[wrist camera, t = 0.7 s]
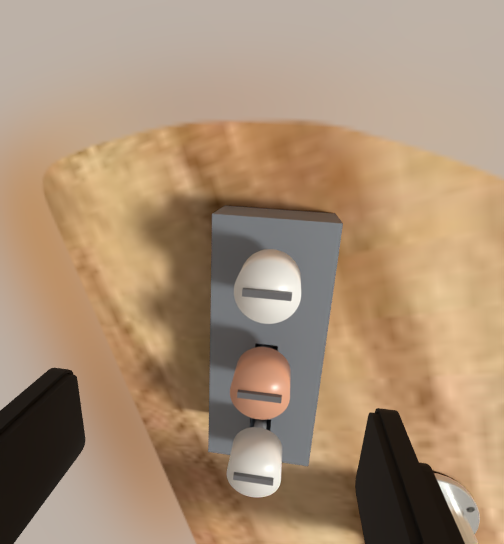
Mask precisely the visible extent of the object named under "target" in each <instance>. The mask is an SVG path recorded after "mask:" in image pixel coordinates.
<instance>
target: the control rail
mask: <svg viewBox="0 0 504 544" xmlns="http://www.w3.org/2000/svg"><path fill="white" fill-rule="evenodd" d="M342 226H343V223H342V222H341V220H340V219H339V218H338V216H337V215H336V214H335V213H322V212H308V211H294V210H280V209H266V208H252V207H238V206H223V207H222V208H220V209H219V210H217V211H216V212H214V213H213V214H212V257H211V320H210V384H209V448H208V452H213V453H220V454H227V455H230V454H231V450H232V445H233V441H234V438H235V436H236V435H237V434H238V433H239V432H240V431H242V430H243V429H246V428H250V427H254V422H255V419H254V418H250V417H248V416H246V415H244V414H242V413H241V412H240V411H239V410H238V409H237V408H236V407H235V406H234V404H233V403H232V400H231V397H230V387H231V384H232V380H233V376H234V373H235V369H236V366H237V362H238V360H239V358H240V357H241V355H242V354H243V353H244V352H246V351H247V350H249V349H252V348H255V347H261V346H262V345H263V344H266V345H271V346H272V348H273V349H274V350H276V351H278V352H280V353H281V354H282V355H283V356H284V357H285V358H286V359H287V361H288V363H289V365H290V371H291V372H290V401H289V404H288V406H287V408H286V409H285V411H284V412H283V413H281V414H280V415H278V416H277V417H274V418H271V419H267V426H266V429H267V430H269V431H271V432H272V433H274V434H275V435H276V436H277V437H278V438H279V440H280V442H281V444H282V463H289V464H296V465H303V466H308V464H309V457H310V450H311V443H312V436H313V429H314V422H315V415H316V408H317V401H318V394H319V387H320V380H321V373H322V366H323V359H324V352H325V345H326V338H327V331H328V324H329V317H330V310H331V303H332V296H333V289H334V282H335V275H336V268H337V261H338V254H339V247H340V240H341V233H342ZM265 249H274V250H279V251H282V252H284V253H286V254H288V255H289V256H290V257H291V258H292V259H293V260H294V261H295V262H296V264H297V266H298V268H299V271H300V277H301V300H300V303H299V306H298V308H297V309H296V311H295V312H294V313H293V314H292V315H291V316H290V317H289V318H287V319H286V320H284V321H282V322H278V323H274V324H264V323H259V322H256V321H253V320H251V319H250V318H248V317H247V316H245V315H244V314H243V313H242V312H241V310H240V309H239V307H238V306H237V304H236V301H235V298H234V285H235V282H236V279H237V277H238V275H239V273H240V271H241V269H242V267H243V265H244V263H245V262H246V260H247V259H248V258H249V257H250V256H251V255H253V254H254V253H256V252H258V251H261V250H265Z"/></svg>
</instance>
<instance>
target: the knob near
mask: <svg viewBox="0 0 504 544" xmlns="http://www.w3.org/2000/svg"><path fill="white" fill-rule="evenodd" d="M234 298H235V301H236V304H237V306H238V307H239V309H240V310H241V312H242V313H243V314H244V315H245V316H247V317H248V318H250V319H251V320H253V321H256V322H259V323H264V324H274V323H278V322H282V321H284V320H286V319H287V318H289V317H290V316H291V315H292V314H293V313H294V312H295V311H296V309H297V308H298V306H299V303H300V300H301V277H300V271H299V268H298V266H297V264H296V262H295V261H294V260H293V259H292V258H291V257H290V256H289V255H288V254H286V253H284V252H282V251H279V250H274V249H265V250H261V251H258V252H256V253H254V254H253V255H251V256H250V257H249V258H248V259H247V260H246V262H245V263H244V265H243V267H242V269H241V271H240V273H239V275H238V277H237V279H236V282H235V285H234Z"/></svg>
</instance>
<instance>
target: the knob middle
mask: <svg viewBox="0 0 504 544" xmlns="http://www.w3.org/2000/svg"><path fill="white" fill-rule="evenodd" d="M290 372H291V371H290V365H289V363H288V361H287V359H286V358H285V357H284V356H283V355H282V354H281V353H280V352H278V351H276V350H274V349H273V348H272V346H271V345H266V344H263V345H262V346H261V347H255V348H252V349H249V350H247V351H246V352H244V353H243V354H242V355H241V357H240V358H239V360H238V362H237V366H236V369H235V373H234V376H233V380H232V384H231V387H230V397H231V400H232V403H233V404H234V406H235V407H236V408H237V409H238V410H239V411H240V412H241V413H242V414H244V415H246V416H248V417H250V418H254V419H261V420H265V419H271V418H274V417H277V416H278V415H280V414H281V413H283V412H284V411H285V409H286V408H287V406H288V404H289V401H290Z"/></svg>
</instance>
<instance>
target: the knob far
mask: <svg viewBox="0 0 504 544" xmlns="http://www.w3.org/2000/svg"><path fill="white" fill-rule="evenodd" d="M266 426H267V419H265V420H261V419H255V422H254V427H250V428H246V429H243V430H242V431H240V432H239V433H238V434H237V435H236V436H235V438H234V441H233V445H232V450H231V454H230V459H229V463H228V468H227V479H228V481H229V483H230V485H231V486H232V487H233V488H234V489H235V490H236V491H238V492H239V493H241V494H243V495H246V496H249V497H266V496H269V495H271V494H273V493H274V492H275V491H276V490H277V489H278V488H279V486H280V483H281V466H282V444H281V442H280V440H279V438H278V437H277V436H276V435H275V434H274V433H272V432H271V431H269V430H267V429H266Z"/></svg>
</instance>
